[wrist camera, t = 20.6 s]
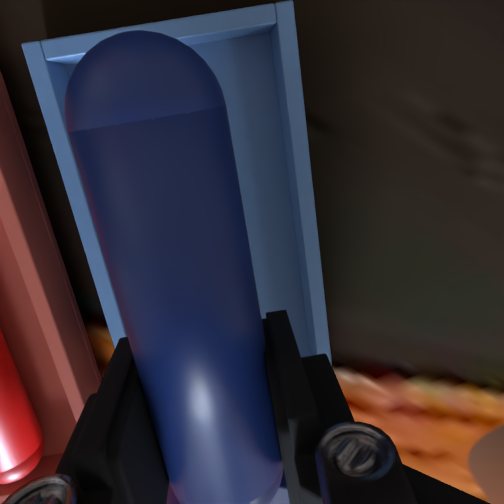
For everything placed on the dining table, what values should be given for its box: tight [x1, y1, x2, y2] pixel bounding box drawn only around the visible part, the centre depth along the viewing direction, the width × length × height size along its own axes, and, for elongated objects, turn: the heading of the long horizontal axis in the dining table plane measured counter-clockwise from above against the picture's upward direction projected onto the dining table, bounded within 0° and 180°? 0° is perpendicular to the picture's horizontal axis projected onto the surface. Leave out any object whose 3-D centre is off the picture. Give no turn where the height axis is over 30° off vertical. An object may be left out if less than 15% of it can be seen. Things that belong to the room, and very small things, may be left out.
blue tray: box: [22, 0, 332, 366], centre depth 18 cm, size 9×18×2 cm, turn 9°
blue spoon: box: [65, 30, 290, 504], centre depth 10 cm, size 16×5×3 cm, turn 9°
